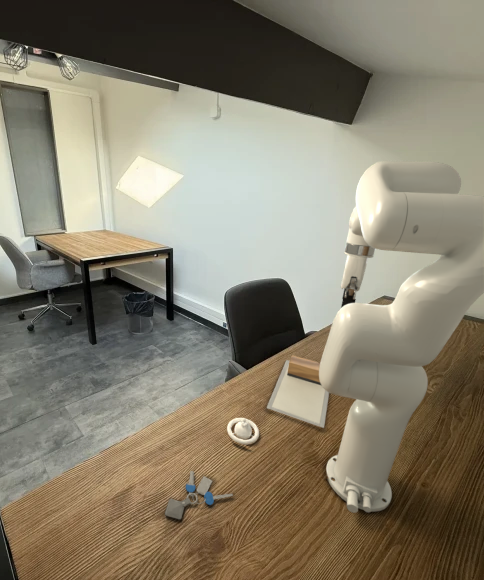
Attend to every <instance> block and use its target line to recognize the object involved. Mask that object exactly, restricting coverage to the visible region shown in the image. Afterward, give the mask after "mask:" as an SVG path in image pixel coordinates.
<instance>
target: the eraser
mask: <svg viewBox="0 0 484 580" xmlns="http://www.w3.org/2000/svg"><path fill="white" fill-rule="evenodd" d="M289 361H290V362H289V367H288V373H287V375H288V376H291V377H294V378H298V379H301V380H305V381H308V382H311V383H315V384H318V385H321V383H320V380H319V367H320V362H318V361H315V360H311V359H307V358H304V357H300V356H296V355H293V354H292V355H291V356H290V359H289ZM321 386H322V385H321Z"/></svg>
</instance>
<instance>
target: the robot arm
mask: <svg viewBox="0 0 484 580" xmlns="http://www.w3.org/2000/svg"><path fill="white" fill-rule="evenodd" d="M461 187H462V179H461V176H460V174H459V172H458V171H457V169H455V168H454V167H453V166H451V165H449V164H447V163H444V162H439V161H428V160H427V161H423V160H422V161H421V160H419V161H418V160H417V161H415V160H382V161H377V162H375V163H373V164H371V165H370V166H368V167H367V168H366V170H365V171H364V172H363V173H362V175H361V176H360V179H359V181H358V183H357V186H356V191H355V206H354V208H353V209H352V212H351V213H350V217H349V220H348V233H347V238H346V242H345V247H344V253H343V254H344V255H345V256H346V259H345V264H344V269H343V273H342V278H341V283H340V289H341V290H343V294H342V298H341V299H342V301H341V306H340V309H339V310H338V311H337V312H336V314H335V316H334V318H333V321H332V324H331V327H330V330H329V332H328V333H329V334H328V336H327V339H326V343H325V345H324V349H323V352H322V355H321V358H320V362H319V363H320V367H319V380H320V383H321V385H322V387H323V388H324V389H325V390H326V391H327V392H329V394H332V395H335V396H338V397H342V398H348V399H353V400H354V401H353V403H352V404H351V405H350V408H349V411H348V414H347V418H346V421H345V424H344V425H345V426H344V429H343V432H342V433H343V434H342V436H341V440H340V441H341V442H340V445H339V449H338V452H337V454H336V455H333V456H332V457H330V458H329V460H328V461H327V463H326V470H325V471H326V476H327V481H328V483H329V485H330V487H331V489H332V490H333V491H334V492H335V493H336V494H337V495H338V496H339V497H340V498H341V499H342V500H343V501H345V502H346V509H347V511H349V512H350V513H354V514H357V513H358V512H359V510H363V511H364V512H365V513H371V512H381V511H383V510H385V509H387V508H388V507H389V505H390V503H391V501H392V498H393V495H392V494H393V491H392V487H391V485H390V483H389V481H388V479H389V477H390V475H391V471H392V468H393V465H394V462H395V459H396V457H397V453H398V451H399V448H400V446H401V443H402V439H403V438H404V437H403V436H404V434H405V431H406V429H407V426H408V424H409V422H410V419H411V418H412V416H413V414H414V413H415V412H416V410H417V408H418V407H419V405H420V404H421V403H422V401H423V400H424V398H425V396H426V394H427V391H428V386H429V385H428V384H429V380H428V375H427V372H426V370H425V368H424V367H425V366H428V365H430V364H431V363H432V362H434V360H435V359H436V358H437V357H438V356H439V354H440V353H441V352H442V350H443V349H444V347H445V346H446V344H447V343H448V341H449V340H450V339H451V337H452V335H453V334H454V332H455V331H456V329H457V328H458V326H459V325H460V323H461V321H463V318H464V317H465V315H466V313H467V312H468V310H469V309H470V308H471V307H472V305H473V304H474V303H475V302H477V300H478V299H479V298H480V297H481V296H482V295H483V294H484V195H480V194H479V195H478V194H466V193H465V194H464V193H460V190H461ZM376 250H379V251H380V250H381V251H386V252H389V251H390V252H399V253H400V252H401V253H411V254H412V253H414V254H416V253H417V254H427V255H439V256H440V257H439V258H438V259H436V260H434V261H432V262H431V263H429V264H427V265H424V266H423V267H421V268H420V269H418V270H417V271H415V272H414V273H412V274H411V275H410V276H409V277H407V278H406V279H405V280H404V281H403V282H402V284H401V285H400V287H399V289H398V292H397V294H396V296H395V297H394V299H393V301H392V302H391V303H390V304H384V305H383V304H374V303H367V302H366V303H364V302H356V301H357V299H356V296H357V292H359V291H360V290H361V287H362V284H363V280H364V276H365V274H366V273H365V272H366V268H367V264H368V261H369V259H372V258H374V256H375V251H376Z"/></svg>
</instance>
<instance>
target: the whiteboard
mask: <svg viewBox="0 0 484 580" xmlns="http://www.w3.org/2000/svg"><path fill="white" fill-rule="evenodd" d="M289 362H290V359H289V360H288V359H286V360H285V362H284V365H283V367H282V370H281V372H280V374H279V377H278V380H277V381H276V384H275V386H274V389H273V392H272V394H271V396H270V398H269V401H268V403H267V406H266V409H268V410H271V411H274V412H277V413H279V414H283V415H285V416H289V417H291V418H294V419H297V420H300V421H303V422H305V423H308V424H310V425H313V426H317V427H320V428H323V429H324V428H325V424H326V418H327V410H328V404H329V403H328V402H329V396H330V393H329V392H327V391H326V390H325V389H324V388H323V387H322V386H321V385H318V384H315V383H311V382H308V381H305V380H301V379H298V378H294V377H291V376H288V375H287V373H288V367H289Z"/></svg>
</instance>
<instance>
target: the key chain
mask: <svg viewBox="0 0 484 580" xmlns="http://www.w3.org/2000/svg"><path fill="white" fill-rule="evenodd" d="M194 480H195V472H194V470H190V471H189V480H188V482H187V483H185V490H186V491H187V493H188V494H187V495H186V498H185V499H183V500H181V501H180V500H177V499H173V498H169V499H168V503H167V505H166V509H165V511H164V516H166V517H168V518H169V517H170V518H173V519H176V520H181V519H182V518H183V514H184V509H185V508H186V507H187V506H190V505H195V504H198V505H199V504H203V503H206V505H208V506H213V504H214V502H215V500H219V499H226V498H230V497H234V495H233V493H225V494H218V495H214V494H213V493H212V492H211V491H209V489H210V487H211V485H212V483H213V480H212V479H210V478H208V477H207V476H204V475H203V477H202V478H201V480H200V482H199V484H198V485H197V488H196V485H195V481H194ZM194 492H195V493H194ZM197 494H200V495H202V496H204V497H203V498H204V499H203V501H202V502H198V501H199V500H198V499H199V497H198V495H197ZM189 497H192V501H193V502H192V501H191V500H190V498H189ZM194 497H195V499H194Z"/></svg>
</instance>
